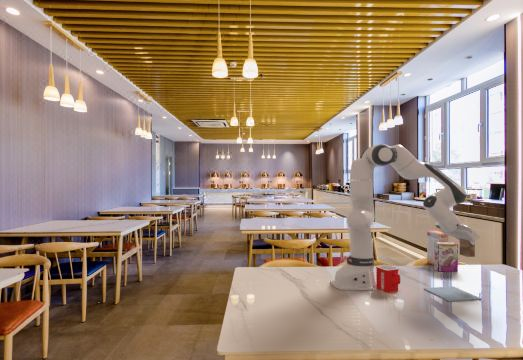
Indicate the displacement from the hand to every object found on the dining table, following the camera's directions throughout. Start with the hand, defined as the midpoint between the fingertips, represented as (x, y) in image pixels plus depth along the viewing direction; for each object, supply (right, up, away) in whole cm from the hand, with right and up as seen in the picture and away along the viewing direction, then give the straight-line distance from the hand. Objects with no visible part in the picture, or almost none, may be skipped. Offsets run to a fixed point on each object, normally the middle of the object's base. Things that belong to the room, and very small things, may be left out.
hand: (468, 242), depth 153 cm
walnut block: (-1, -6, 0) cm, 6 cm away
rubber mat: (-15, -22, -11) cm, 28 cm away
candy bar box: (+5, -22, +27) cm, 35 cm away
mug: (-41, -22, -6) cm, 47 cm away
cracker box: (+7, -22, +40) cm, 46 cm away
